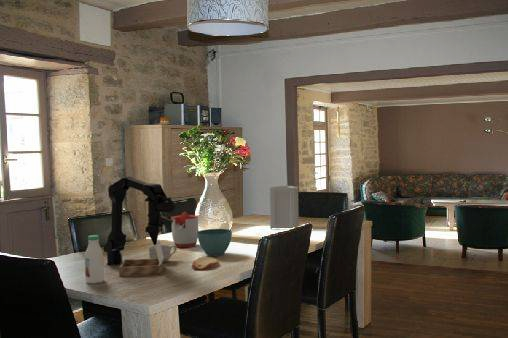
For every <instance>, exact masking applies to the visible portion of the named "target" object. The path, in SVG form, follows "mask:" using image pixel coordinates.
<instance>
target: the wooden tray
mask: <svg viewBox="0 0 508 338" xmlns="http://www.w3.org/2000/svg"><path fill="white" fill-rule="evenodd" d="M163 268H164V262H163V260H162V263H161V265H160V264H159V260H158V258H156V259H150V258H137V259H136V258H134V259H133V258H132V259H131V258H130V259H123V261H122V262H121V264H120V265H119V268H118V271H119V277H129V276H130V277H132V276H134V277H135V276H136V277H137V276H157V275H158V276H159V275H161V273H162V271H163Z"/></svg>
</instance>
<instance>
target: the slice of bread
mask: <svg viewBox="0 0 508 338" xmlns="http://www.w3.org/2000/svg"><path fill="white" fill-rule="evenodd" d="M217 267H219V261H218V259H217V258H214V257H211V256H201V257H198V258H196V259H195V260H194V261H192V265H191V268H192V269H193V270H194V271H198V272H205V271H208V270H212V269H216V268H217Z"/></svg>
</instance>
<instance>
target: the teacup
mask: <svg viewBox="0 0 508 338" xmlns="http://www.w3.org/2000/svg"><path fill="white" fill-rule="evenodd" d="M160 245H161V249H162V253H163V257H164V258H163V263H166V262H168V261H169V260H170V258H171V257H172V256H173V255H174V254H175V253H176V252H177V247H176V246H175V244H174V245H173V244H172V245H171V244H160ZM172 248H173V249H174V250H173V251H171V250H172ZM148 255H149V256H148V257H149V259H156V258H158V256H157V252H156V248H155V245H151V246H149V247H148Z"/></svg>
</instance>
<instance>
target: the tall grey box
mask: <svg viewBox="0 0 508 338" xmlns="http://www.w3.org/2000/svg"><path fill="white" fill-rule="evenodd" d="M268 190H269V194H268V195H269V228H271V229H270V230H273V229H272V228H293V227H297V226H299V225H300V223H299V218H300V217H299V187H298V186H293V185H281V186H270V187H269V188H268Z"/></svg>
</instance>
